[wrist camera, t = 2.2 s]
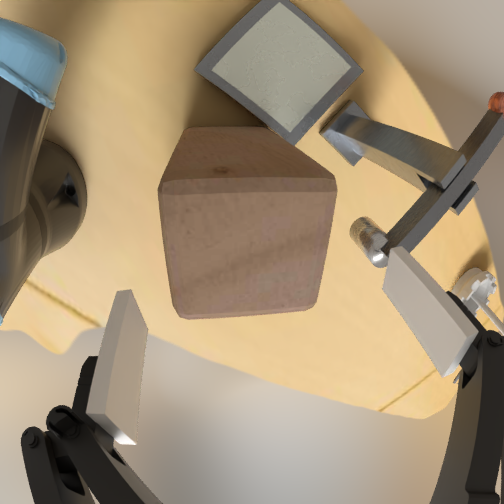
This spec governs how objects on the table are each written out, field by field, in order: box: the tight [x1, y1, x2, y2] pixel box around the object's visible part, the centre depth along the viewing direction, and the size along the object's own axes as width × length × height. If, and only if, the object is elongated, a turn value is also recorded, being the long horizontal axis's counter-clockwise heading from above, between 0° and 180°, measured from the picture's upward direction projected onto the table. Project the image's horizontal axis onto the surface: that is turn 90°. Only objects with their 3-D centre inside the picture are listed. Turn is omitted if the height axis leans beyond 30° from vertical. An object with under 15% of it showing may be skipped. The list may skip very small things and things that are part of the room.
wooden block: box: [158, 126, 337, 320], centre depth 25 cm, size 10×10×20 cm
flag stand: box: [451, 267, 504, 335], centre depth 42 cm, size 13×13×30 cm
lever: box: [350, 92, 504, 268], centre depth 18 cm, size 3×20×6 cm, turn 140°
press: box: [194, 0, 479, 215], centre depth 21 cm, size 22×13×20 cm, turn 50°
